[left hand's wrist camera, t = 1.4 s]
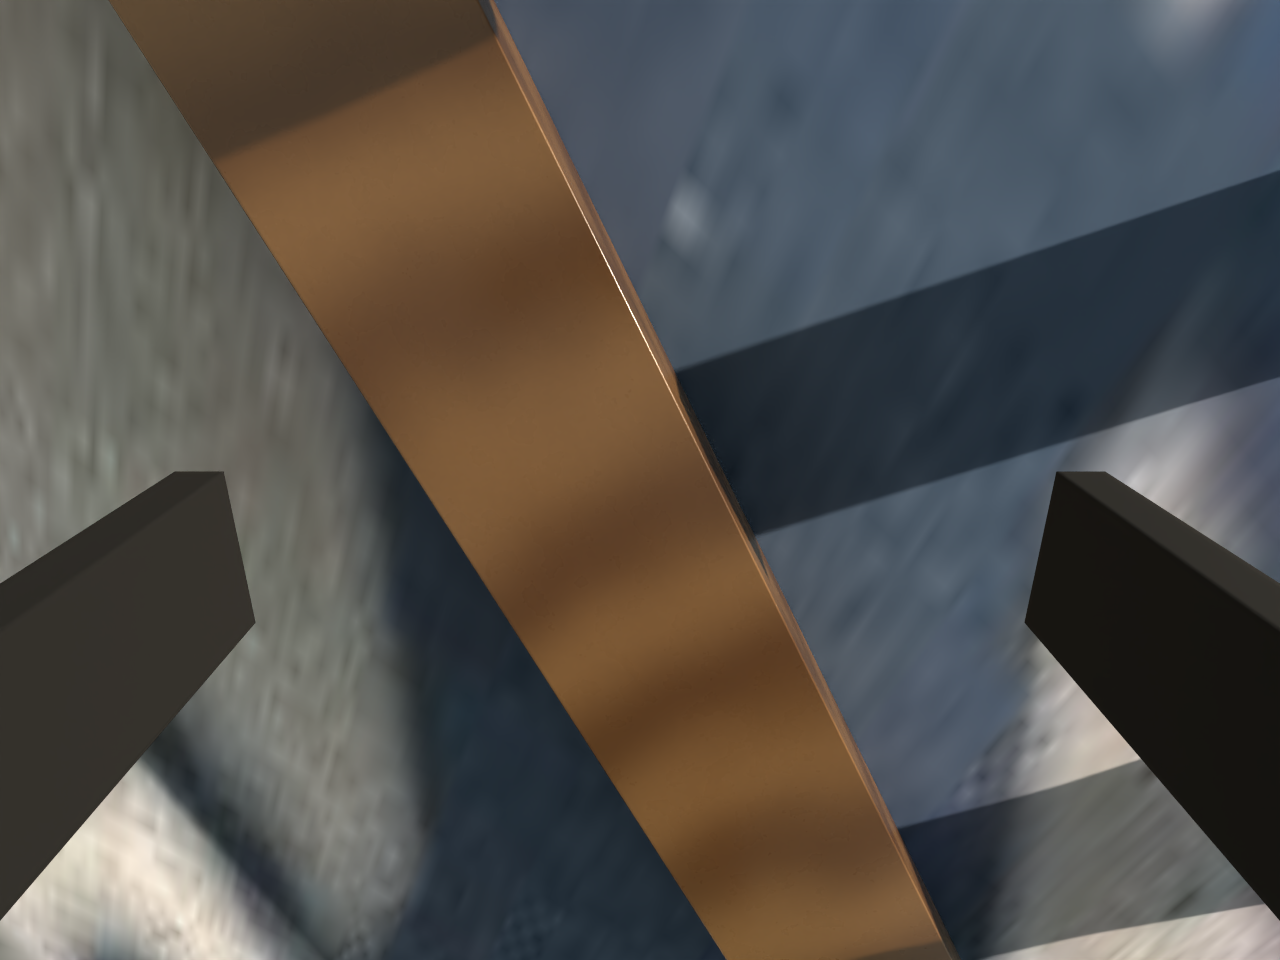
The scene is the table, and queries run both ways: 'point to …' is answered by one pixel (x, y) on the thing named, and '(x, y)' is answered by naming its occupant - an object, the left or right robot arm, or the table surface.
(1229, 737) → the left robot arm
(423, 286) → the long beam
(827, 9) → the table surface
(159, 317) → the table surface
